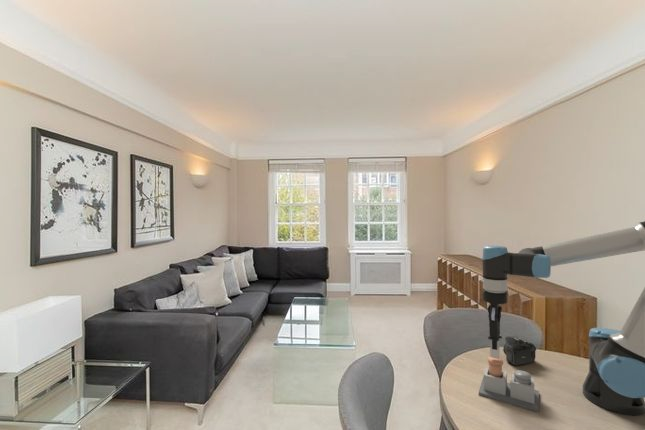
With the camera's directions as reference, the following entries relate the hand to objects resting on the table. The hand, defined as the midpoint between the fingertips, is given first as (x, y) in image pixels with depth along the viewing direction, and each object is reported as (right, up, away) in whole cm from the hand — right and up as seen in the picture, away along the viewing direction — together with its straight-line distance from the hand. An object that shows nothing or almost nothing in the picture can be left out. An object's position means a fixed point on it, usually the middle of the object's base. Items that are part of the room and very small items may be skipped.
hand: (494, 357), depth 109 cm
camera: (+21, -11, +21) cm, 32 cm away
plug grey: (+7, -10, -4) cm, 13 cm away
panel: (+4, -12, -2) cm, 12 cm away
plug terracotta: (0, -7, 0) cm, 7 cm away
